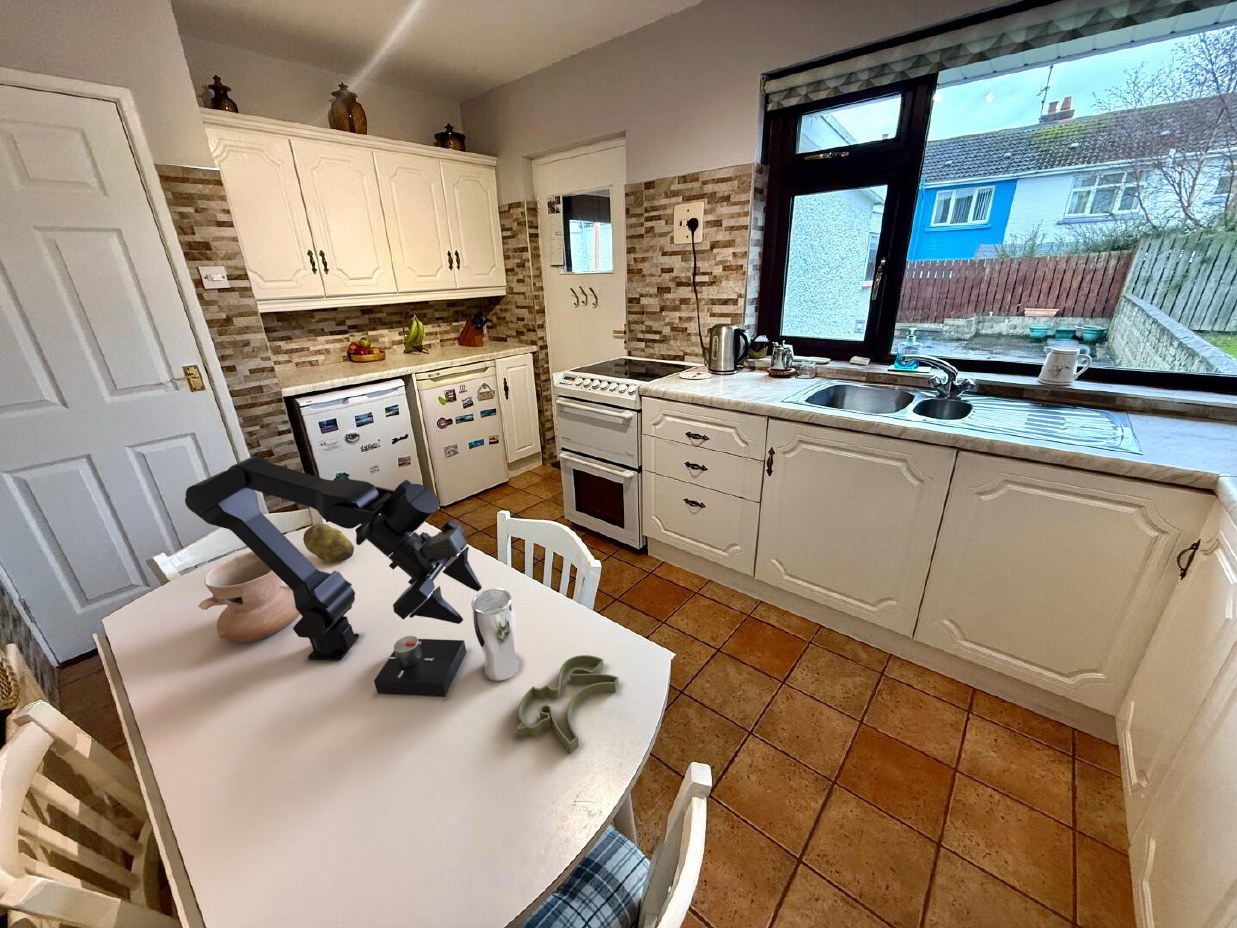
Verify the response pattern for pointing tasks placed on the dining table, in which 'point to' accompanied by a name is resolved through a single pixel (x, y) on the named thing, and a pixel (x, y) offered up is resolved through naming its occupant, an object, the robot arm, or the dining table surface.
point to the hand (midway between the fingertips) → (471, 604)
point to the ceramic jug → (249, 599)
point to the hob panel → (423, 670)
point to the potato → (328, 543)
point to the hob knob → (407, 651)
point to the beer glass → (496, 632)
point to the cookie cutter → (576, 677)
